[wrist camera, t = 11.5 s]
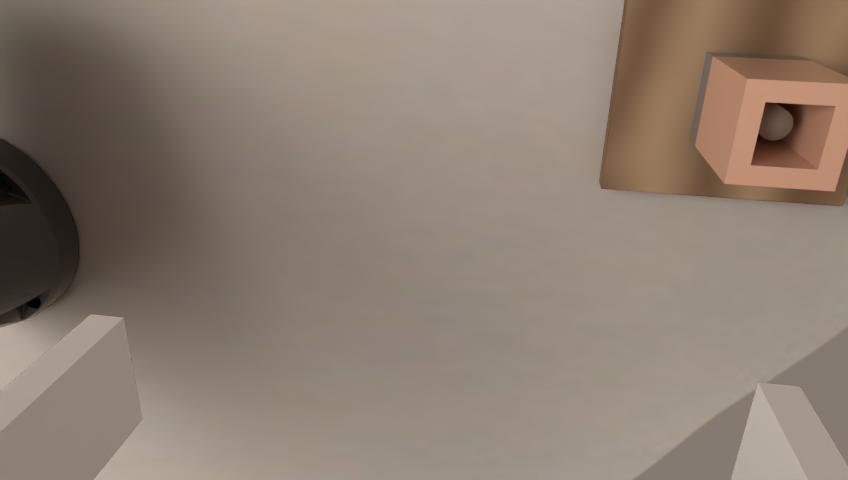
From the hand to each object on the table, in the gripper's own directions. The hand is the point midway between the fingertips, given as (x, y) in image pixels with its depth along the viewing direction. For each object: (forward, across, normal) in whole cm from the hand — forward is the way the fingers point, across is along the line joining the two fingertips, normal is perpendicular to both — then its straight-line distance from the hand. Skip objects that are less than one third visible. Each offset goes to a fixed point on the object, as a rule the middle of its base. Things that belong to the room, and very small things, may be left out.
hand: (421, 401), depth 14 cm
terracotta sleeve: (+29, +14, +1) cm, 32 cm away
